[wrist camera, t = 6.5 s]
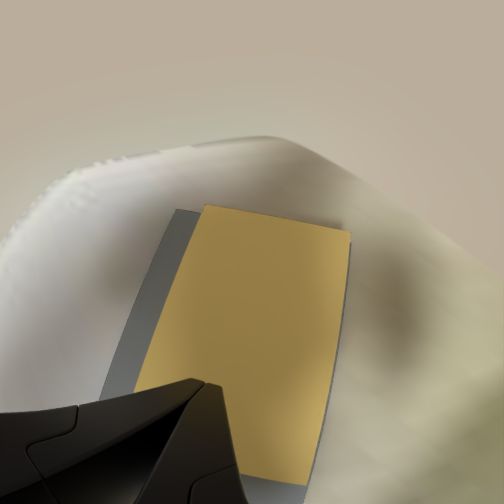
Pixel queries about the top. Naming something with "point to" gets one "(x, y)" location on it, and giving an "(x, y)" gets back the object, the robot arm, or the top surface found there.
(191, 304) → the block
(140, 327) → the mat
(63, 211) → the top surface
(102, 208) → the top surface
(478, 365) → the top surface
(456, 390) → the top surface
